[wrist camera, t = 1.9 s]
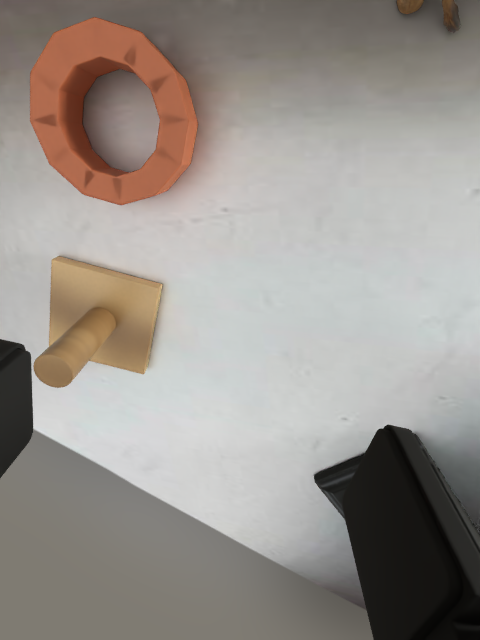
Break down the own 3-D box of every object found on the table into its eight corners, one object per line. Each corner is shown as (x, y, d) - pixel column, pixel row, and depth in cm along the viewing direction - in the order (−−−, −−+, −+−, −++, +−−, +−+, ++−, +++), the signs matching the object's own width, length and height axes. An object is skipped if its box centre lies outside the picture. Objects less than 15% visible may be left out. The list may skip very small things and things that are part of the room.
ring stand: (58, 255, 26) (-18, 294, 19) (162, 283, 27) (126, 332, 20) (54, 344, 30) (-11, 406, 23) (147, 368, 30) (111, 435, 23)
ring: (60, 16, 20) (29, -4, 17) (209, 63, 21) (201, 50, 18) (55, 176, 24) (29, 179, 21) (181, 212, 24) (171, 220, 22)
